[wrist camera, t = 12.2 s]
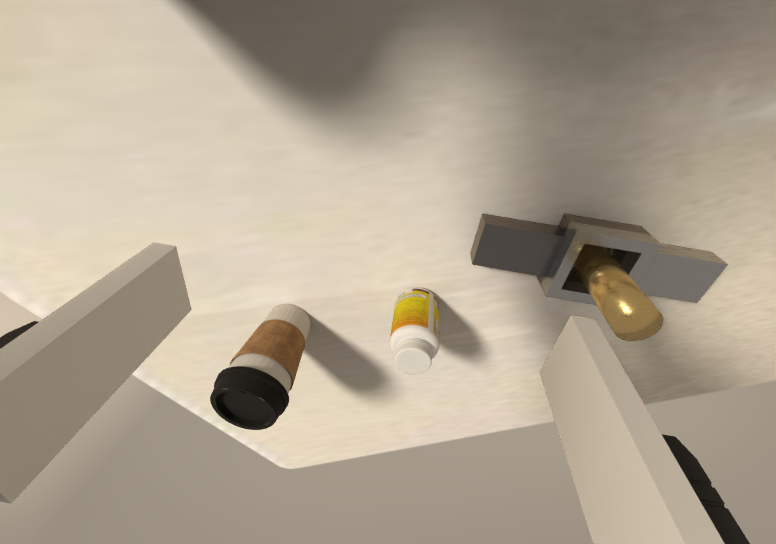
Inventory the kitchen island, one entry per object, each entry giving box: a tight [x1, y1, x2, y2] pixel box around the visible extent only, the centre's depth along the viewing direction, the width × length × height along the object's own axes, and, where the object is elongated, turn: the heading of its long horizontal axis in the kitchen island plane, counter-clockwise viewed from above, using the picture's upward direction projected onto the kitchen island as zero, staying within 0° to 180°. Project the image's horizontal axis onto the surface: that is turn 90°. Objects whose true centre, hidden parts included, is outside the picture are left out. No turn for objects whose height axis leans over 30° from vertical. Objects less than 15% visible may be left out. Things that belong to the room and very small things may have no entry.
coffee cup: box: [210, 304, 311, 430], centre depth 43 cm, size 8×8×15 cm
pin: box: [573, 244, 663, 341], centre depth 34 cm, size 4×4×12 cm
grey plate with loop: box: [470, 214, 728, 305], centre depth 37 cm, size 24×8×4 cm, turn 82°
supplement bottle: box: [390, 287, 439, 374], centre depth 41 cm, size 6×6×10 cm
